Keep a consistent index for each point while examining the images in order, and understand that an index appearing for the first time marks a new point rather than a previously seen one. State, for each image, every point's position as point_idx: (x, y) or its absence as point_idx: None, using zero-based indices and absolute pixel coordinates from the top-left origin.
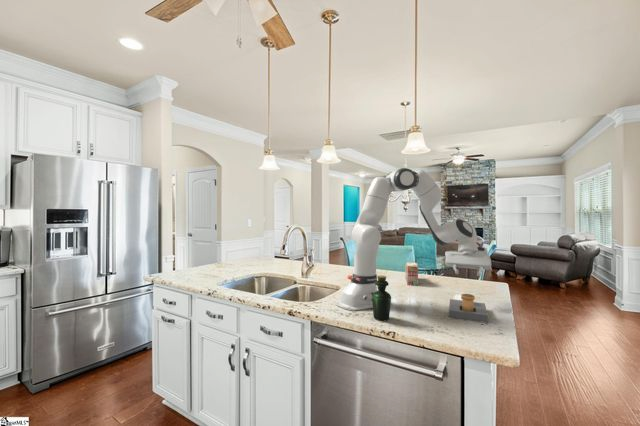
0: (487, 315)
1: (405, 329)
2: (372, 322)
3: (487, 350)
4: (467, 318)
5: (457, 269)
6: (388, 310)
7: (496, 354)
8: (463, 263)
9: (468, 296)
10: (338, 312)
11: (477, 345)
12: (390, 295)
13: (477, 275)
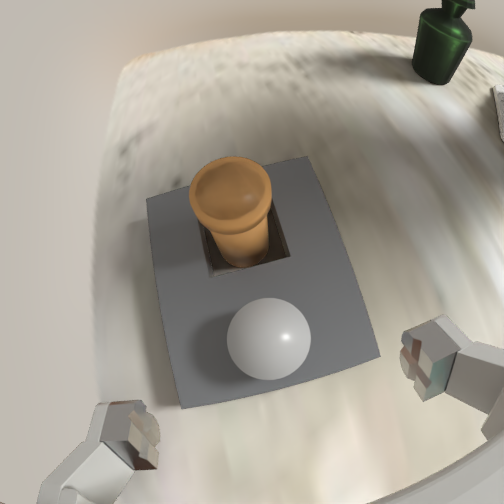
0: (149, 198)
1: (346, 45)
2: None
3: (163, 58)
4: None
5: (446, 356)
6: (416, 46)
7: (148, 57)
8: (419, 494)
9: (222, 170)
10: (494, 73)
11: (182, 61)
12: (432, 21)
13: (147, 414)
